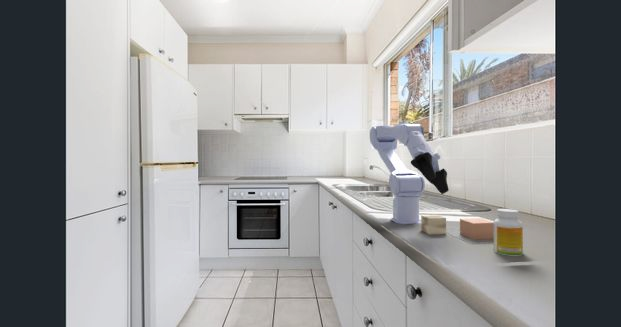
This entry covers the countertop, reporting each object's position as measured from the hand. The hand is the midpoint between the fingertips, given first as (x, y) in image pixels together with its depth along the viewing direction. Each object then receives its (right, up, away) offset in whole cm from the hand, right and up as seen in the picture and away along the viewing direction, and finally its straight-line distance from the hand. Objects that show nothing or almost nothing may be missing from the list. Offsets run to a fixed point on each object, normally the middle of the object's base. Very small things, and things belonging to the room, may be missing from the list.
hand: (438, 185), depth 84 cm
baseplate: (+10, -14, -1) cm, 17 cm away
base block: (+10, -13, -1) cm, 16 cm away
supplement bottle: (+9, -14, -15) cm, 23 cm away
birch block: (0, -14, +4) cm, 15 cm away
